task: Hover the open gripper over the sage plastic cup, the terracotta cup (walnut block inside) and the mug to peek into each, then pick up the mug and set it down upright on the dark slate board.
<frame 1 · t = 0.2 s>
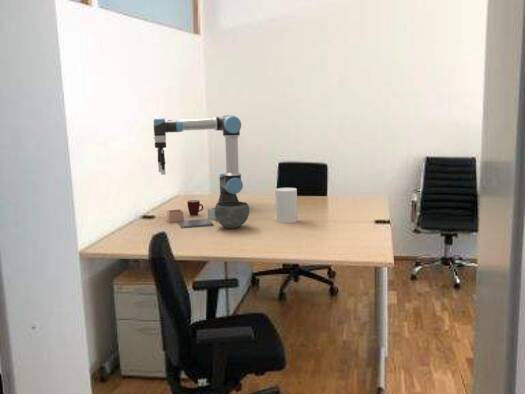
hand: (162, 173, 392), 28 cm above the table, fingers open, 13 cm apart
slate board: (194, 224, 363), on the table
canister: (286, 220, 367), on the table
bowl: (232, 227, 352), on the table
mug: (195, 215, 389), on the table
sage cup: (216, 219, 375), on the table
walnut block: (175, 220, 371), point 1 cm above the table, touching terracotta cup
terracotta cup: (175, 221, 371), on the table
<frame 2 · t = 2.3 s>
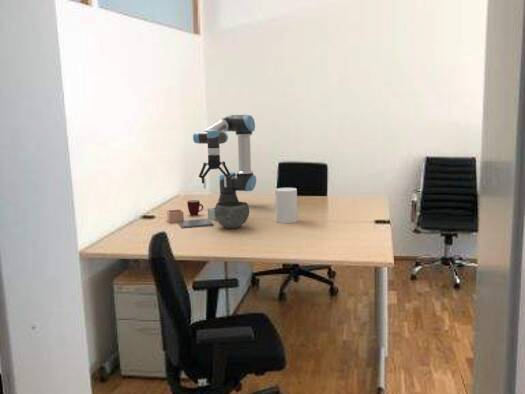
hand: (215, 187, 371), 21 cm above the table, fingers open, 13 cm apart
nothing on the table moved.
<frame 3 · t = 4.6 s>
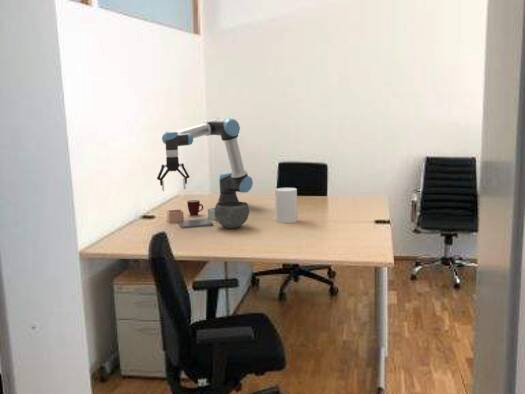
hand: (173, 189, 367), 21 cm above the table, fingers open, 13 cm apart
nothing on the table moved.
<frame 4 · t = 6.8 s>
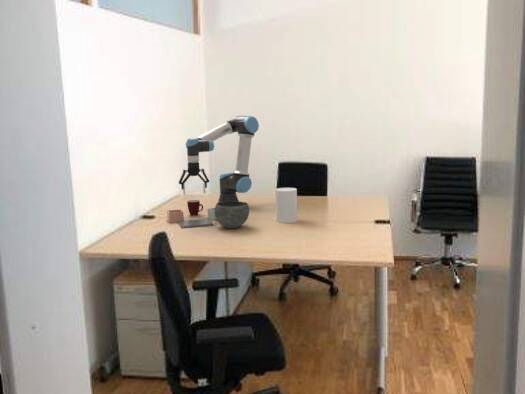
hand: (194, 193, 386), 15 cm above the table, fingers open, 13 cm apart
nothing on the table moved.
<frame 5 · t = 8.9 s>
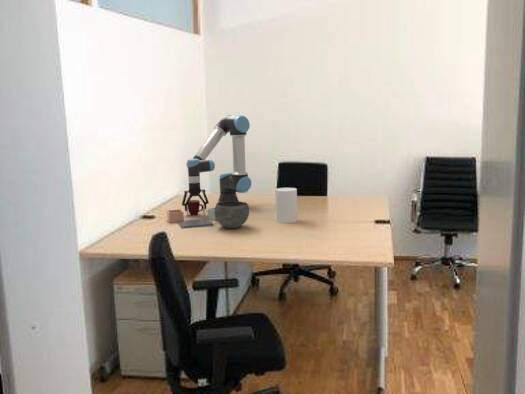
hand: (195, 214, 389), 0 cm above the table, fingers closed on mug, 10 cm apart
mug: (195, 215, 389), on the table, touching gripper
everything else where it was.
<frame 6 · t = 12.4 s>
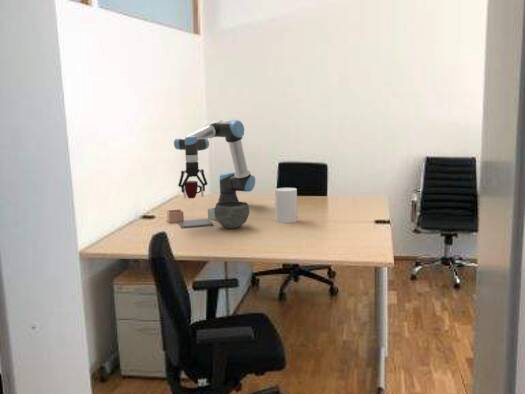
hand: (193, 197, 360), 17 cm above the table, fingers closed on mug, 10 cm apart
mug: (193, 197, 360), point 17 cm above the table, touching gripper
everything else where it was.
when the fingers open (3 cm above the table, at t = 15.9 s): mug drops 1 cm, resting on slate board.
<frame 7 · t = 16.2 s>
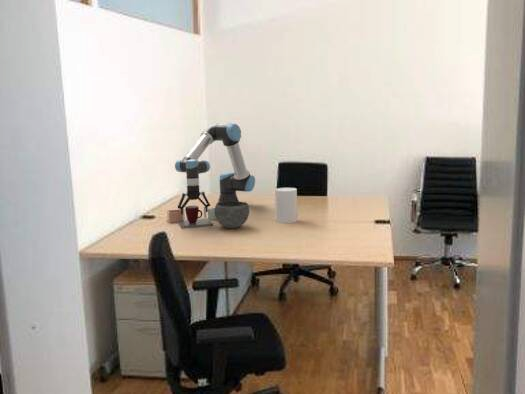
hand: (194, 218, 362), 4 cm above the table, fingers open, 13 cm apart
mug: (194, 222, 363), point 1 cm above the table, touching slate board
everything else where it was.
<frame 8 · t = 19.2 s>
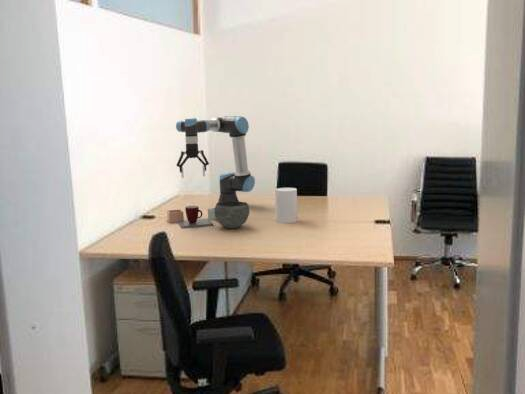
hand: (193, 176, 366), 29 cm above the table, fingers open, 13 cm apart
nothing on the table moved.
at the end: mug inside the target area on the slate board (0.2 cm from its centre), point 1.0 cm above the slate board's base; mug tilted 0°; the gripper is holding nothing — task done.
